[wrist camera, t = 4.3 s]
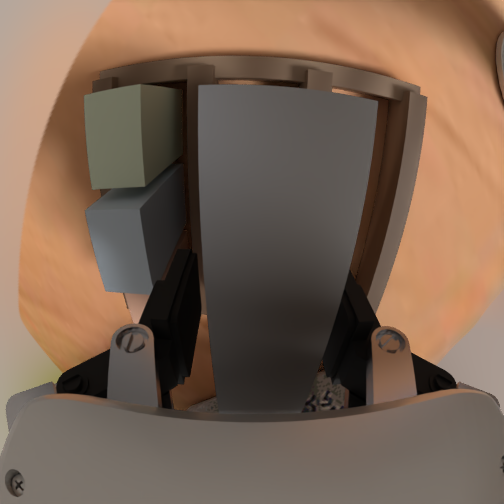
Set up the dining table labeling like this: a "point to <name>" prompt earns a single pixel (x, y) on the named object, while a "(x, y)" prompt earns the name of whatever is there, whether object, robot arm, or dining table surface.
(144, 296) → the terracotta offcut board
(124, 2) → the dining table surface
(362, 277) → the walnut rack
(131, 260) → the slate offcut board
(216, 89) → the charcoal panel
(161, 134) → the sage offcut board
